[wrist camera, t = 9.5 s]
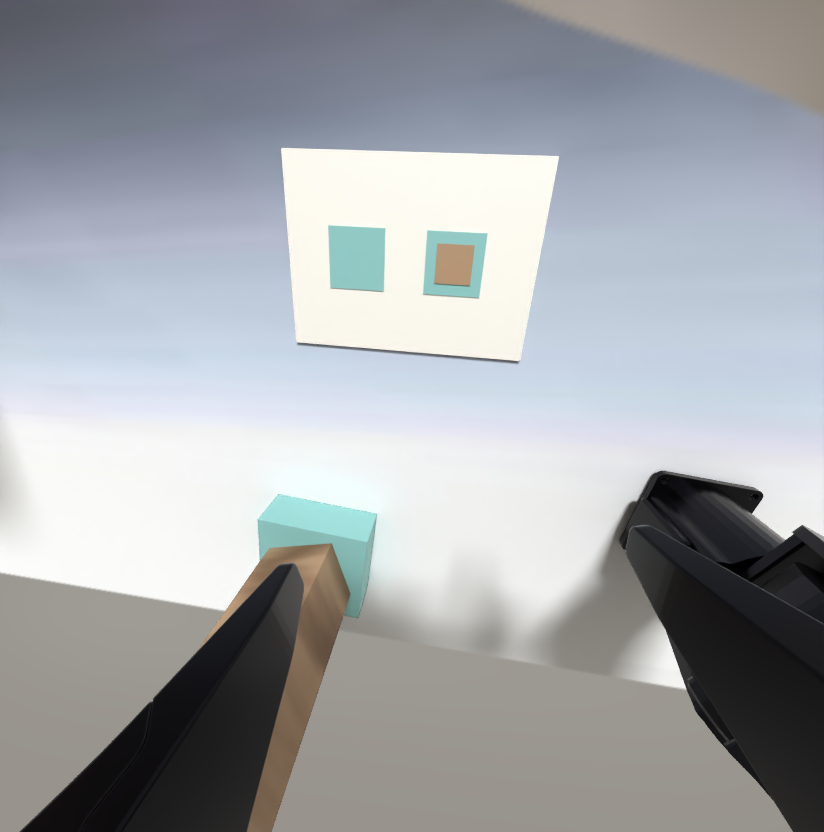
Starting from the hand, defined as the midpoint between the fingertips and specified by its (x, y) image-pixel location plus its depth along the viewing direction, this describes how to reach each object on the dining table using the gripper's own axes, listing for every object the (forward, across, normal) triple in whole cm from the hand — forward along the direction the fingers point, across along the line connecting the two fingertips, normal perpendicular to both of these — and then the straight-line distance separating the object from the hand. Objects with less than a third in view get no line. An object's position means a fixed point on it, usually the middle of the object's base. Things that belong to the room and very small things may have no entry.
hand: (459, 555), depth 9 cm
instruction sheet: (+14, 0, -7) cm, 16 cm away
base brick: (+14, +10, +13) cm, 21 cm away
